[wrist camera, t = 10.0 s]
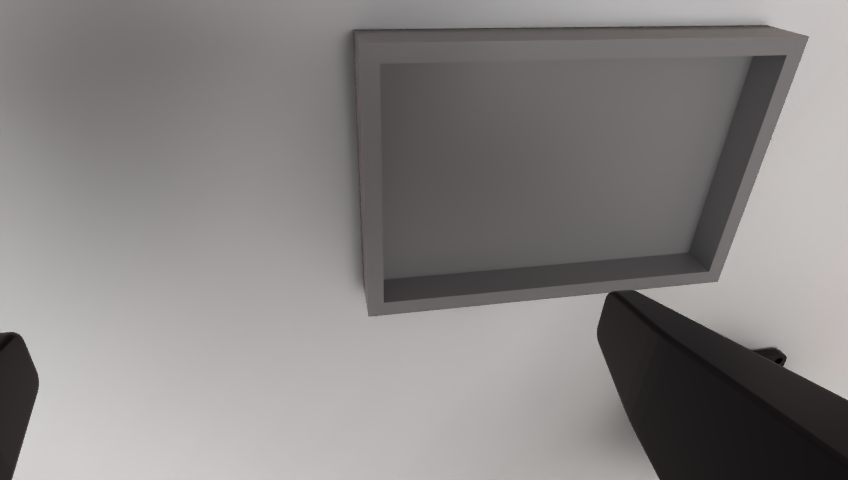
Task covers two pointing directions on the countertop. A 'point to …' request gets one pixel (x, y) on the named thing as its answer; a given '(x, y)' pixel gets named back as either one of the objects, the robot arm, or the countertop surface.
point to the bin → (558, 157)
